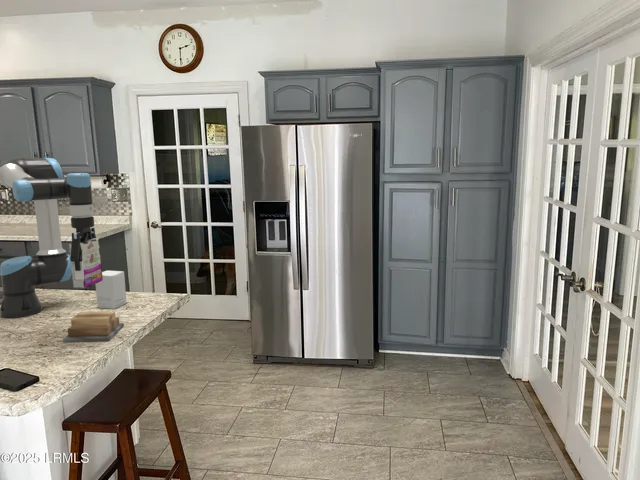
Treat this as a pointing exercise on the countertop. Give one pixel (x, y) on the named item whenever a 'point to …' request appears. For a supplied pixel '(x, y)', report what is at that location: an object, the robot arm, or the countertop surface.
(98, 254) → the candy bar box
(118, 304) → the supplement box
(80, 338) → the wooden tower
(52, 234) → the robot arm
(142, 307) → the countertop surface
